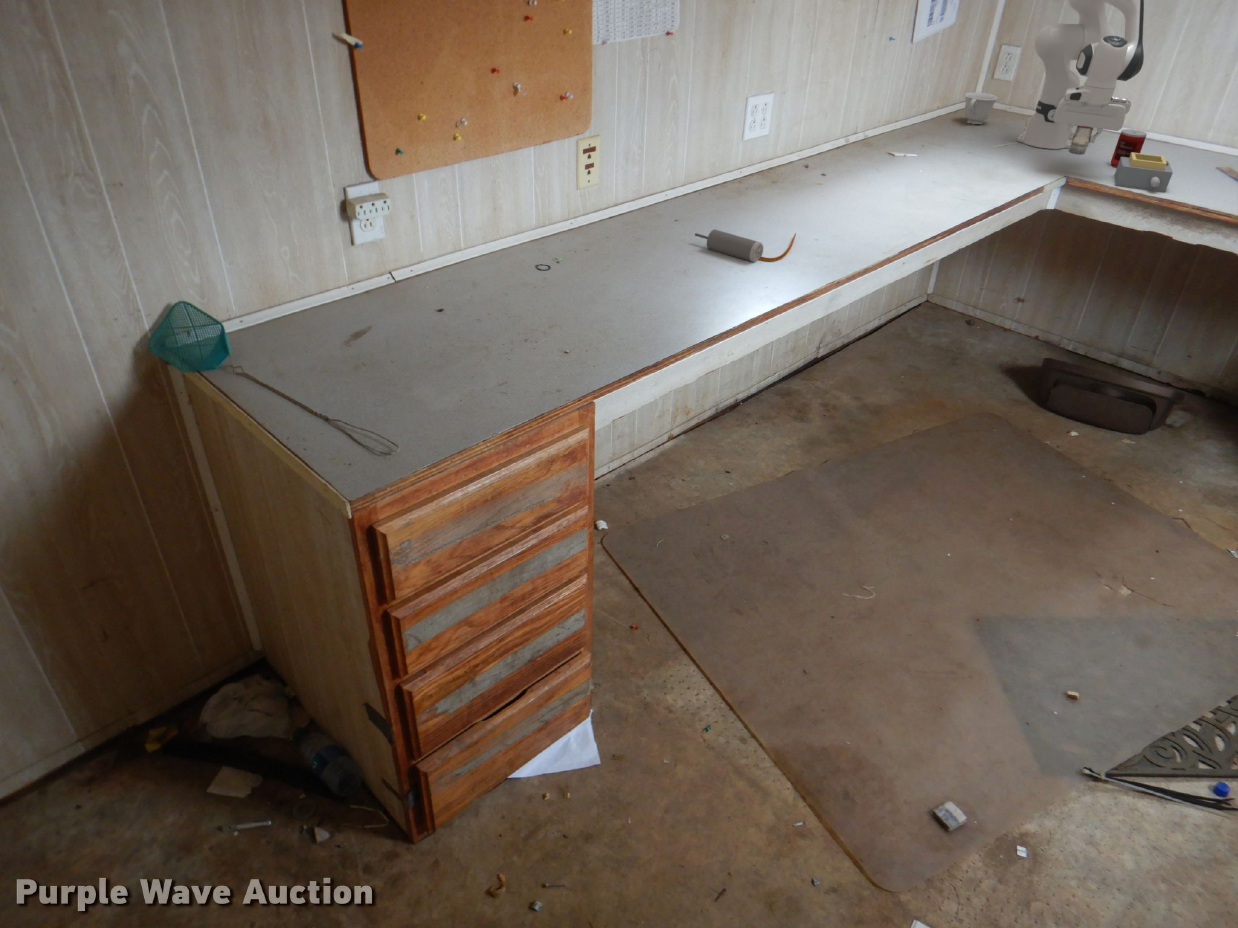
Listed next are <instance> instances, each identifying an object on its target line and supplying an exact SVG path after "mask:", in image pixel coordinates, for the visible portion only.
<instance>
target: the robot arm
mask: <svg viewBox="0 0 1238 928" xmlns="http://www.w3.org/2000/svg"><path fill="white" fill-rule="evenodd" d="M1068 4H1069V6H1070V8H1071V9H1073V10H1074V11H1075V12H1077V14H1078V19H1079V20H1078V23H1055V24H1050V25H1046V26H1043V28H1041V30H1040V31H1039V32H1038V34H1037V35H1036V38H1035V41H1034V49H1035V52H1036V54H1037V56H1038V57H1039V59H1040V60H1041V61H1042V63H1043V65H1044V70H1045V71H1044V72H1045V77H1044V82H1043V83H1044V84H1043V86H1042V87H1043V88H1042V91H1041V95H1040V98H1039V100H1038V101H1037V103H1036V108H1035V112H1034V114H1032V115H1031V116H1029V118H1028V119H1027V120H1026V123H1025V128H1024V132H1023V133H1021V134H1020V135H1019V136H1017V138H1016V142H1019V143H1023V144H1025V145H1028V146H1031V147H1036V148H1040V149H1041V148H1042V149H1050V150H1055V149H1056V150H1058V149H1059V150H1060V149H1068V148H1069V149H1070V146H1071V142H1072V140H1073V137H1074V134H1075V132H1072V130H1073V128H1074V126H1084V127H1091V128H1094V129H1096V133H1094V135H1092V134H1091V138H1090V140H1089V143H1091V144H1094V143H1095V141H1096V138H1098V136H1100V135H1101V134H1102V133H1103V130H1108V131H1115V132H1118V131H1120V130H1122V128H1123V125H1124V122H1125V118H1126V114H1128V113H1129V112H1130V109H1131V106H1132V102H1131V101H1130V100H1128V98H1125V97H1124V98H1121V97H1114V96H1113V95H1114V93H1115V89H1116V86H1117V81H1121V82H1126V81H1129V80H1131V79H1132V78H1134V77H1135V76H1137V74H1139V72H1141V70H1142V68H1143V65H1144V60H1145V58H1144V57H1145V55H1144V54H1145V53H1144V45H1143V44H1144V42H1143V40H1144V18H1145V17H1144V16H1145V0H1068ZM1106 4H1109V5H1111V6H1113V7H1115V8H1116V9H1117V10H1119V11H1120V12H1121V13H1122V14H1123V16H1124V20H1125V21H1124V22H1125V23H1124V37H1121V36H1118V35H1116V33H1115V30H1114V29H1113V28H1112V27H1111V26H1110V24H1109V22H1108V18H1107V14H1106ZM1071 61H1076V64H1075V69H1076V70H1077V72H1078V74H1079V75H1080V76H1083V77H1085V78H1086V80H1085V82H1084V83H1083V85H1082V86H1081V81H1080V76H1078V75H1077V73H1075V72H1074V71H1073V70H1071Z"/></svg>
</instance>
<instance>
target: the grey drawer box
mask: <svg viewBox="0 0 1238 928" xmlns="http://www.w3.org/2000/svg"><path fill="white" fill-rule="evenodd" d="M1173 173H1174V172H1173V168H1172V166H1171V164H1170V162H1169V161H1168V160H1166V158H1165V156H1163V155H1156V154H1148V153H1142V152H1140V153H1133V152H1131V154H1130V157H1129V158H1127V157H1121V158H1120V160H1119V163H1118V166H1117V168H1116V169H1115V172H1114V175H1113V177H1114V178H1113V179H1114V182H1115V186H1116V187H1117V186H1118V187H1124V188H1132V189H1139V190H1146V191H1154V192H1162V193H1166V191H1167V188H1168V186H1169V183H1170V180H1172V176H1173Z"/></svg>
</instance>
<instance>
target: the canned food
mask: <svg viewBox="0 0 1238 928" xmlns="http://www.w3.org/2000/svg"><path fill="white" fill-rule="evenodd" d="M1146 138H1147V132H1145V131H1142V130H1138V129H1133V128H1127V129H1121V132H1120V133H1119V137H1118V139H1117V143H1116V145H1115V148H1114V151H1113V154H1112V157H1111V160H1110V166H1112V167H1114V168H1116V169H1117V166H1118V163H1119V160H1120V158H1121V157H1127V158H1129V157H1130V154H1131V152H1133V153H1142V152H1141V151H1142V149H1143V147H1144V143H1145V141H1146Z"/></svg>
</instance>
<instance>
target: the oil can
mask: <svg viewBox="0 0 1238 928" xmlns="http://www.w3.org/2000/svg"><path fill="white" fill-rule="evenodd" d="M1094 130H1095V128H1091V127H1084V126H1077V127H1076V128H1075V130H1074V133H1075V134H1074V137H1073V140H1071V141H1070V142H1071V146H1070V148H1069V149H1068V152H1069V153H1070V154H1073V155H1079V156H1081V155H1085V154H1086V152H1087V151H1086V150H1087V148H1088V146H1089V143H1090V142H1089V140H1090V138H1091V135H1092V134H1093V131H1094Z"/></svg>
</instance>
